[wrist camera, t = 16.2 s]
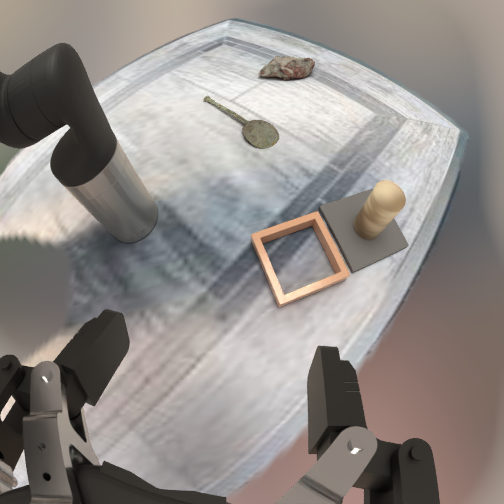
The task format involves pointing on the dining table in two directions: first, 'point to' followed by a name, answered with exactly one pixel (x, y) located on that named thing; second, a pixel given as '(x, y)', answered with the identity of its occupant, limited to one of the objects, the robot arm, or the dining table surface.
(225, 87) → the dining table surface
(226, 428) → the dining table surface
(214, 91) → the dining table surface
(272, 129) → the soupspoon
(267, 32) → the dining table surface
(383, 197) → the maple post
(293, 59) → the mineral rock
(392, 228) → the charcoal mat
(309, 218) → the terracotta collar
